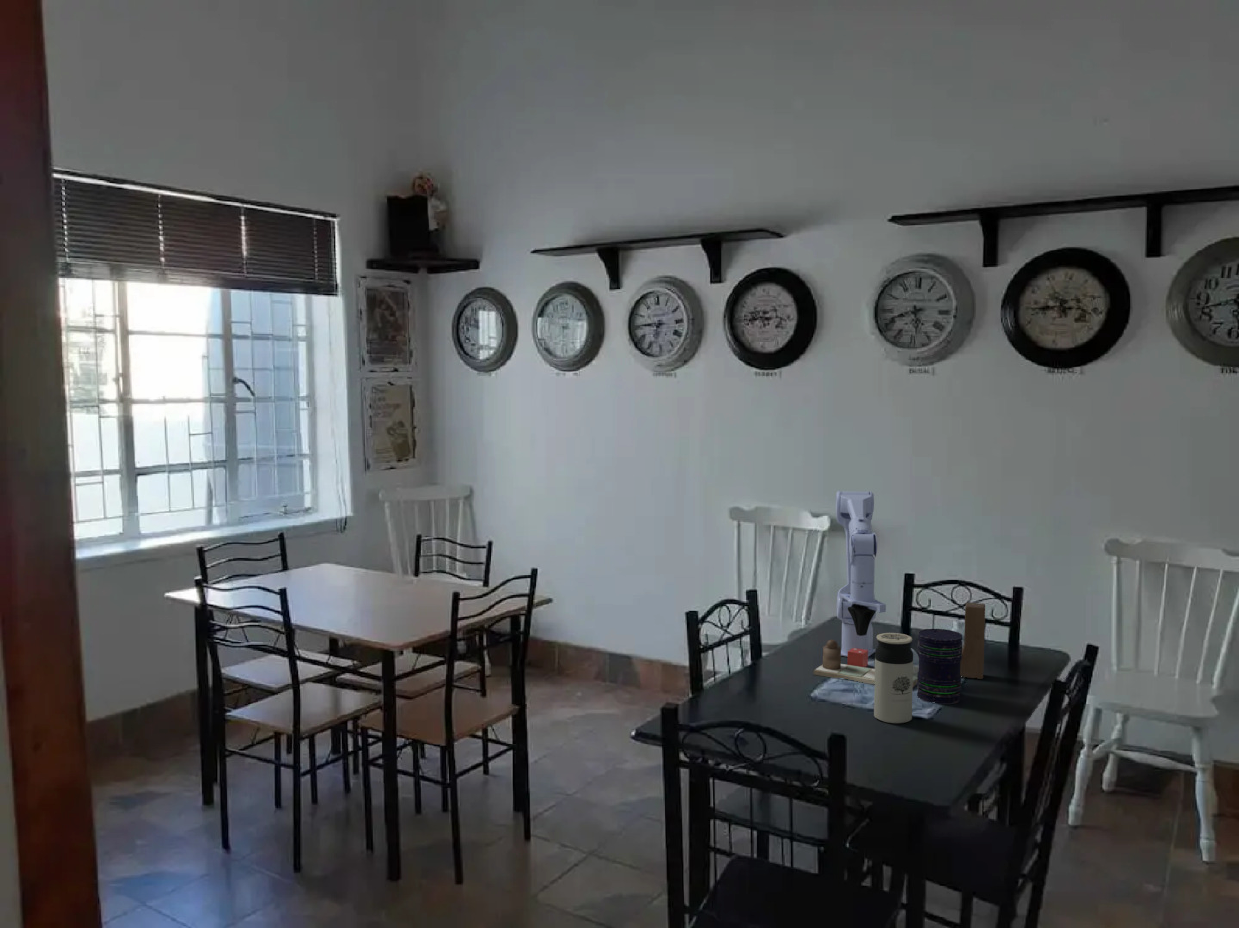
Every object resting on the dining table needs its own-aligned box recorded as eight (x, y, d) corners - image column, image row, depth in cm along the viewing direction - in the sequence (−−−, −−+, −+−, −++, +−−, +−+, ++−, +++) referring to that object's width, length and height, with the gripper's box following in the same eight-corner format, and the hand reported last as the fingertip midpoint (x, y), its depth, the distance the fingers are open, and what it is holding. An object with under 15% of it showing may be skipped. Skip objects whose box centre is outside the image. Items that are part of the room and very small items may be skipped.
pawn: (826, 663, 252) (826, 636, 252) (843, 666, 250) (843, 639, 249) (820, 668, 249) (820, 640, 248) (837, 670, 246) (837, 643, 246)
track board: (826, 665, 255) (826, 660, 255) (920, 680, 242) (920, 675, 242) (813, 674, 247) (813, 669, 247) (910, 690, 234) (910, 685, 234)
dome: (896, 662, 254) (897, 642, 254) (924, 667, 250) (925, 646, 250) (888, 670, 248) (889, 648, 248) (916, 674, 244) (917, 652, 244)
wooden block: (944, 675, 245) (945, 604, 244) (945, 670, 250) (947, 600, 248) (982, 679, 242) (984, 607, 240) (983, 674, 246) (985, 603, 245)
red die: (852, 662, 257) (852, 647, 256) (867, 665, 255) (868, 649, 254) (847, 666, 253) (847, 651, 253) (862, 669, 251) (862, 653, 251)
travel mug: (870, 711, 220) (871, 632, 219) (906, 711, 220) (908, 632, 218) (878, 724, 212) (880, 642, 211) (916, 724, 212) (917, 642, 210)
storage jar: (968, 703, 225) (970, 639, 224) (926, 705, 224) (927, 640, 223) (950, 689, 235) (952, 628, 233) (910, 691, 234) (911, 629, 233)
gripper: (830, 578, 252) (829, 630, 253) (870, 588, 239) (869, 643, 240) (851, 575, 255) (851, 626, 256) (892, 585, 242) (891, 639, 244)
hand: (861, 634), depth 248 cm, fingers closed
